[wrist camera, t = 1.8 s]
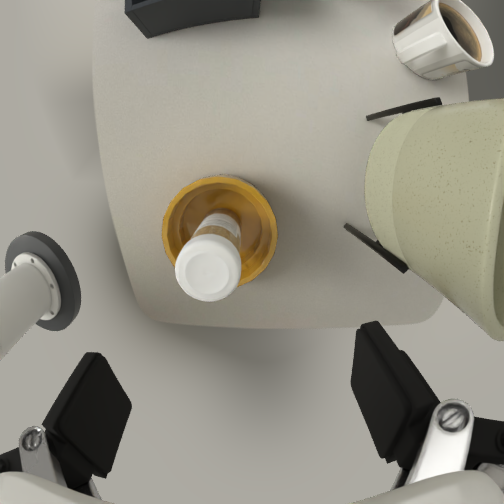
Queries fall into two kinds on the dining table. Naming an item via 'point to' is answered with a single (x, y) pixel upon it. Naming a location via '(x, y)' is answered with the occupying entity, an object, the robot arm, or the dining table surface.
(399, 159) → the planter
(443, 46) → the mug
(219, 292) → the sprinkles bottle
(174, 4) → the grey bin
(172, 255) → the yellow bowl
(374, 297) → the dining table surface
